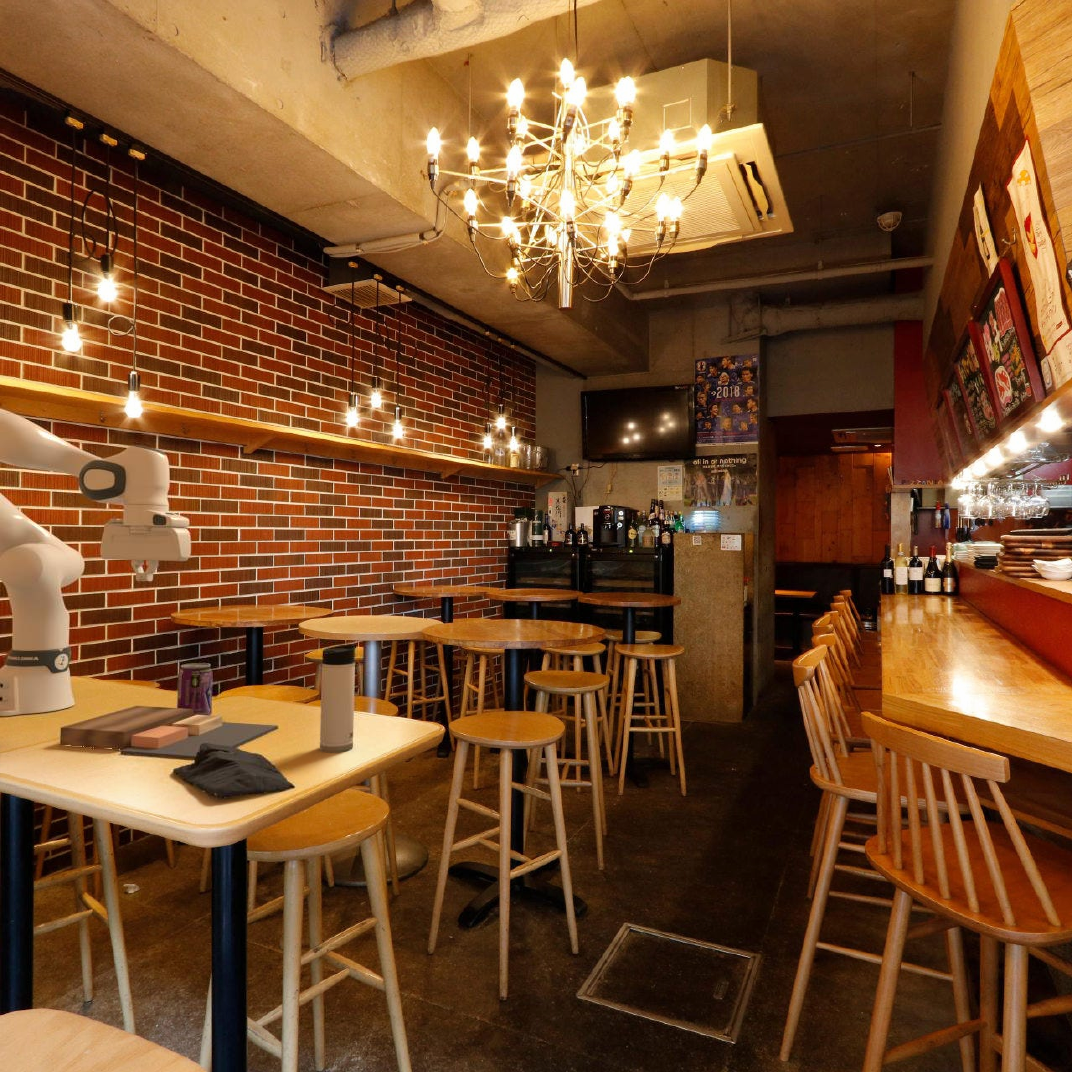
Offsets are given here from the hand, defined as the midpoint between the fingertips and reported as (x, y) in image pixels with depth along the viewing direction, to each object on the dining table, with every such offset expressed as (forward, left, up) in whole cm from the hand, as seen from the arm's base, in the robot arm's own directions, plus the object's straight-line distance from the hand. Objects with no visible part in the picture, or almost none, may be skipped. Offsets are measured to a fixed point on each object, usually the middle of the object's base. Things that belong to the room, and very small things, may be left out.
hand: (144, 581), depth 156 cm
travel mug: (+51, -9, -31) cm, 60 cm away
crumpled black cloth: (+43, -30, -32) cm, 61 cm away
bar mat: (+23, -10, -31) cm, 40 cm away
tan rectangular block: (+18, -5, -30) cm, 36 cm away
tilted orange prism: (+17, -15, -30) cm, 38 cm away
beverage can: (+9, +6, -31) cm, 33 cm away
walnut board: (+6, -10, -31) cm, 33 cm away
